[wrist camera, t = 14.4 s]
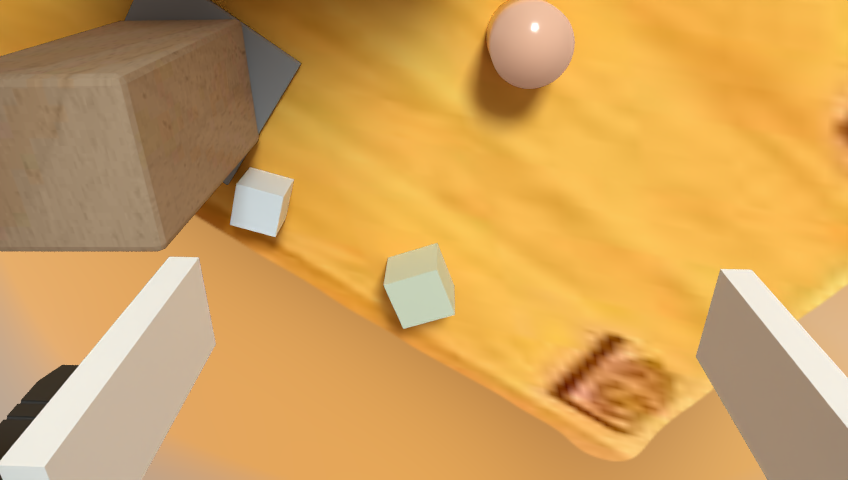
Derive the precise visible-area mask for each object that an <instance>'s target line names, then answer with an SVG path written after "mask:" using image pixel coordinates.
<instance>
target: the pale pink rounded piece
mask: <svg viewBox="0 0 848 480" xmlns="http://www.w3.org/2000/svg"><path fill="white" fill-rule="evenodd" d="M486 42H487V47H488V51H489V54H490V57H491V59H492V62H493V65H494V67H495V69H496V71H497V72H498V74H499V75H500V76H501V77H502V78H503V79H504V80H505V81H506V82H508V83H509V84H511V85H513V86H516V87H519V88H524V89H534V88H540V87H543V86H546V85H548V84H550V83H551V82H553V81H555V80H556V79H557V78H558V77H559V76H560V75H561V74H562V73H563V72H564V71H565V70H566V68H567V67H568V65H569V63H570V61H571V59H572V55H573V52H574V43H575V41H574V33H573V29H572V26H571V24H570V22H569V20H568V19H567V18H566V16H565V15H564V14H563V13H562V12H561V11H559V10H558V9H557V8H556V7H554V6H553V5H552V4H550V3H549V2H547V1H546V0H507V1H506V2H504V3H503V4H502V5H501V6H500V7H499V8H498V9H497V10H496V11H495V12H494V14H493V15H492V17H491V19H490V21H489V24H488V27H487V33H486Z"/></svg>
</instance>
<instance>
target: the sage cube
mask: <svg viewBox="0 0 848 480" xmlns="http://www.w3.org/2000/svg"><path fill="white" fill-rule="evenodd" d="M384 288H385V290H386V292H387V294H388V296H389V299H390V301H391V303H392V305H393V307H394V309H395V312H396V314H397V316H398V318H399V320H400V323H401V325H402V327H403V329H405V328H409V327H412V326H416V325H419V324H423V323H427V322H430V321H434V320H437V319H441V318H445V317H448V316H452V315H455V297H454V284H453V281H452V279H451V276H450V274H449V271H448V269H447V266H446V264H445V261H444V258H443V256H442V253H441V251H440V248H439V246H438V243H435V244H432V245H429V246H426V247H422V248H419V249H416V250H412V251H409V252H406V253H402V254H399V255H396V256H392V257H389V258H388V261H387V267H386V273H385V279H384Z"/></svg>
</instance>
